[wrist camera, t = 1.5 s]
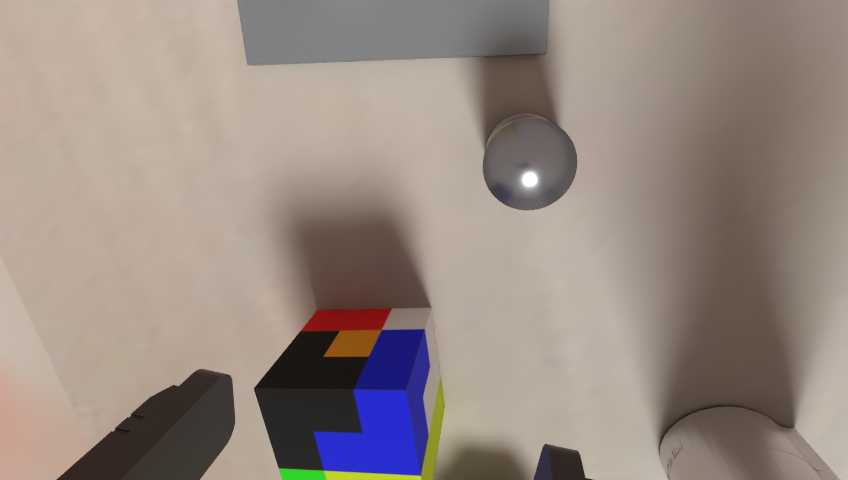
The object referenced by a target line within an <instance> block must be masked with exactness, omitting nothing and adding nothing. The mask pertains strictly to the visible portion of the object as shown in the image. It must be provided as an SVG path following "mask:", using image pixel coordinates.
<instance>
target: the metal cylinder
mask: <svg viewBox="0 0 848 480" xmlns="http://www.w3.org/2000/svg"><path fill="white" fill-rule="evenodd" d="M576 169H577V154H576V150H575V147H574V144H573V142H572V140H571V139H570V137H569V136H568V135H567V133H566V132H565V131H564V130H563V129H561V128H560V127H559V126H557V125H556V124H554V123H552V122H551V121H549V120H547V119H546V118H544V117H542V116H540V115H537V114H534V113H518V114H514V115H511V116H509V117H507V118H505V119H503V120H502V121H501V122H500V123H498V124H497V125H496V127H495V128H494V129H493V130H492V132H491V134H490V136H489V138H488V141H487V145H486V150H485V155H484V160H483V174H484V179H485V182H486V184H487V186H488V188H489V190H490V191H491V193H492V194H493V195H494V196H495V197H496V198H497V199H498V200H499V201H500V202H502V203H503V204H505V205H507V206H509V207H512V208H515V209H519V210H535V209H540V208H543V207H546V206H548V205H550V204H552V203H554V202H555V201H557V200H558V199H559V198H561V197H562V196H563V195H564V194H565V192H566V191H567V190H568V189H569V187H570V185H571V184H572V182H573V180H574V177H575V174H576Z"/></svg>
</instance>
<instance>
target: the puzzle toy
mask: <svg viewBox="0 0 848 480" xmlns="http://www.w3.org/2000/svg"><path fill="white" fill-rule="evenodd" d="M254 391H255V394H256V397H257V400H258V403H259V407H260V410H261V413H262V416H263V419H264V423H265V426H266V429H267V432H268V435H269V439H270V442H271V445H272V448H273V451H274V455H275V458H276V461H277V464H278V467H279V471H280V474H281V477H282V480H433V475H434V469H435V463H436V457H437V451H438V445H439V439H440V433H441V427H442V420H443V414H444V408H445V405H444V398H443V390H442V383H441V375H440V368H439V360H438V353H437V345H436V338H435V331H434V323H433V316H432V308H431V307H428V308H394V309H361V310H327V311H317V312H316V313H315V314H314V315H313V317H312V318H311V319H310V320H309V322H308V323H307V324H306V325H305V326H304V328H303V329H302V330H301V331H300V333H299V334H298V335H297V336H296V337H295V339H294V340H293V341H292V342H291V344H290V345H289V346H288V347H287V349H286V350H285V351H284V352H283V353H282V355H281V356H280V357H279V358H278V360H277V361H276V362H275V363H274V365H273V366H272V367H271V368H270V369H269V371H268V372H267V373H266V374H265V376H264V377H263V378H262V379H261V380H260V382H259V383H258V384H257V385H256V387H255V388H254Z"/></svg>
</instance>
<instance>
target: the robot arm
mask: <svg viewBox="0 0 848 480" xmlns="http://www.w3.org/2000/svg"><path fill="white" fill-rule="evenodd" d="M234 425H235V410H234V397H233V384H232V378H231V376H230V375H228V374H223V373H219V372H214V371H209V370H205V369H199V370H197V371H195V372H194V373H193V374H192V375H191V376H190V377H188V378H187V379H186V380H185V381H184V382H183V383H182V384H181V385H180V386H175V385H172V386H171V387H169V388H167V389H165V390H163V391H161V392H159V393H157V394H156V395H154V396H152V397H150V398H149V399H148V400H147V401H145V402H144V403H143V404H142V405H141V406H140V407H139V408H137V409H136V410H135V411H134V412H133V413H132V414H131V416H130V417H127V418H126V419H125V420H124V421H123V422H122V423H120V424H119V425H118V426H117V427H116V429H115V431H114V432H112V431H111V432H110V433H109V434H108V435H107V436H106V437H104V438H103V439H102V440H101V441H100V442H99V443H98V444H97V445H95V446H94V447H93V448H92V449H91V450H90V451H89V452H87V453H86V454H85V455H84V456H83V457H82V458H81V459H80V460H79V461H77V462H76V463H75V464H74V465H73V466H72V467H70V468H69V469H68V470H67V471H66V472H65V473H64V474H63V475H61V476H60V477H59V478H58V479H57V480H200V479H201V477H202V476H203V475H204V473H205V472H206V471H207V469H208V468H209V467H210V466H211V464H212V463H213V462H214V460H215V459H216V458H217V456H218V455H219V454H220V452H221V451H222V450H223V449H224V447H225V446H226V444H227V443H228V441H229V439H230V437H231V435H232V432H233V429H234ZM660 459H661V463H662V466H663V468H664V470H665V473H666V475H667V478H668V480H840V479H839V478H838V477H837V476H836V475H835V474H834V472H833V471H832V470H831V469H830V468H829V467H828V466H827V464H826V463H825V462H824V461H823V460H822V459H821V458H820V456H819V455H818V454H817V453H816V452H815V451H814V450H813V448H812V447H811V446H810V445H809V444H808V443H807V442H806V440H805V439H804V438H803V437H802V436H801V435H800V434H799V433H798V431H797V430H796V429H794V428H786V427H781V426H779V425H778V424H776V423H775V422H774V421H772V420H771V419H770V418H768V417H767V416H765V415H763V414H761V413H758V412H756V411H753V410H749V409H745V408H739V407H714V408H709V409H704V410H700V411H697V412H695V413H692V414H690V415H688V416H686V417H684V418H682V419H681V420H679V421H678V422H677V423H675V424H674V425H673V426H672V427H671V428H670V429H669V430H668V432H667V433H666V434H665V436H664V438H663V440H662V443H661V445H660ZM534 480H592V479H588V478H585V474H584V470H583V466H582V461H581V457H580V454H579V452H578V451H576V450H571V449H567V448H562V447H557V446H553V445H548V444H545V445H544V446H543V449H542V452H541V455H540V459H539V463H538V466H537V470H536V473H535V477H534Z"/></svg>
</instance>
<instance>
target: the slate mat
mask: <svg viewBox="0 0 848 480" xmlns="http://www.w3.org/2000/svg"><path fill="white" fill-rule="evenodd" d="M237 2H238V8H239V14H240V21H241V27H242V33H243V40H244V46H245V52H246V59H247V65H275V64H301V63H326V62H352V61H378V60H403V59H429V58H454V57H480V56H505V55H531V54H545V53H546V43H547V29H548V14H549V0H237Z"/></svg>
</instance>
